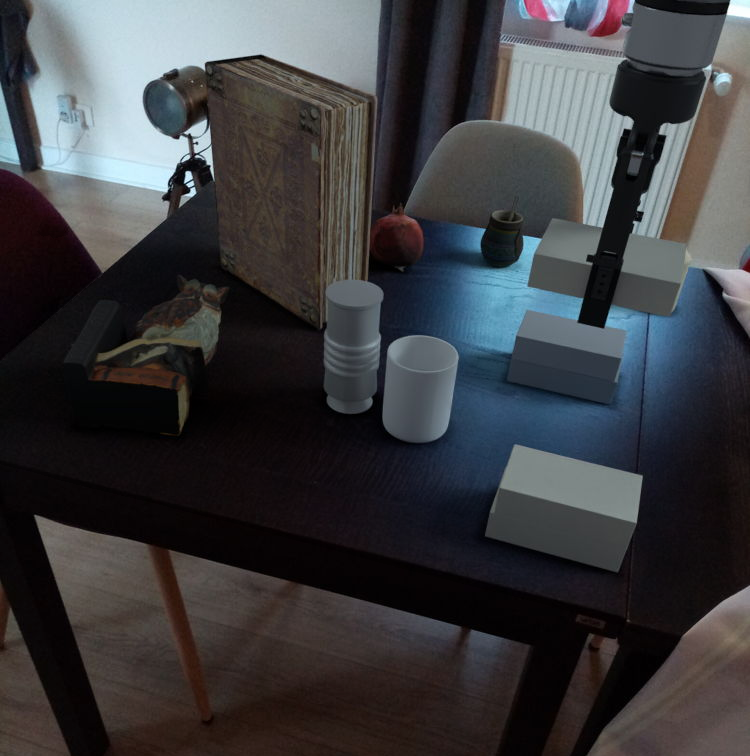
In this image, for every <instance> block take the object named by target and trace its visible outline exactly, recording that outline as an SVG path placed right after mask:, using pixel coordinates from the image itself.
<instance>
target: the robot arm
mask: <svg viewBox="0 0 750 756" xmlns="http://www.w3.org/2000/svg"><path fill="white" fill-rule="evenodd" d="M731 1H732V0H634V1H633V4H632V7H631V8H632V12H625V13H623V15H622V17H621V20H620V23H621V25H622V26H623V27H630V28H629V29H628V30H627V31H626V32H625V36H624V41H623V45H622V49H621V52H622V54H623V56H624V57H625V59H623V60H622V61H621V62H620V63H618V64H617V67H616V72H615V76H614V78H613V79H614V80H613V84H612V87H611V92H610V96H609V107H610V108H611V109H612V111H613V112H614V113H616V114H618V115H620V116H622V117H628V118H630V119H631V120H632V121H633V123H632V127H631V129H630V128H625V127H624V128H623V130H622V133H621V135H620V137H619V141H618V144H617V148H616V154H615V156H616V161H615V166H614V168H613V173H612V176H611V180H610V181H611V182H610V186H611V188H612V193H611V196H610V200H609V204H608V207H607V211H606V214H605V217H604V221H603V226H602V228H603V229H602V233H601V236H600V240H599V244H598V247H597V251H596V254H594V255H589V254H588V255H587V259H586V262H590V263H593V264H592V267H591V271H590V275H589V279H588V283H587V287H586V291H585V294H584V298H582V302H581V305H580V306H581V307H580V309H579V314H578V318H577V320H578V321H577V323H580V324H584V325H589V326H593V327H598V328H602V329H604V328H605V326H606V324H607V320H608V317H609V314H610V310H611V306H612V305H611V304H612V300H613V297H614V293H615V290H616V286H617V283H618V279H619V276H620V272H621V269H622V266H623V262H624V260H623V256H624V253H625V249H626V246H627V242H628V239H629V235H630V233H632V234H633V231H634V228H635V223H634V222H637V223H642V222H643V218H644V214H645V211H642V210H638V209H639V207H640V206H641V203H642V200H641V198H642V195H644V194H646V193H647V192H648V191H649V189H650V186H651V183H652V180H653V175H654V172H655V169H656V166H657V165H658V164H659V163H660V161H661V158H662V155H663V151H664V148H665V144H666V140H667V137H668V135H667V134H661V133H660V131H661V127H662V126H663V125H665V124H670V125H679V124H684V123H687V122H689V121H691V120H692V119H693V118H694V117H695V115H696V114H697V110H698V107H699V103H700V100H701V97H702V94H703V92H704V91H703V90H704V87H705V85H706V81H707V76H706V74H705V73H706V72H705V71H704V70H703V69H707V68H708V67H709V66H710V65H712V64H713V61H714V57H715V54H716V51H717V48H718V45H719V41H720V38H721V35H722V31H723V28H724V25H725V21H726V20H727V19H726V18H727V16H728V11H729V8H730V5H731ZM604 251H606V252H604ZM609 252H611V253H609ZM614 253H615V254H614Z"/></svg>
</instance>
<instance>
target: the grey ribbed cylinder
mask: <svg viewBox="0 0 750 756" xmlns="http://www.w3.org/2000/svg"><path fill="white" fill-rule="evenodd" d="M325 295H326V299H327V322H326V328H325V330H324V334H323V339H324V340H323V341H324V342H323V348H324V349H323V367H324V368H325V370H324V379H323V389H324V391H325V393H326V394H327V397H326V403H327V405H328V406H329V407H330V408H331V409H332V410H334V411H335V412H338V413H342V414H348V415H354V414H361V413H364V412H366V411H368V410H369V409H370V408H371V407H372V405H373V401H374V400H373V398H372V397H373V396H375V394H376V393H377V391H378V389H377V388H378V377H377V376H378V373H377V371H378V369H379V367H380V357H381V356H380V355H381V352H380V351H381V340H382V335H381V333H380V320H381V319H380V318H381V304H382V302H383V301H384V291H383V289H382V288H381V287H380V286H378V285H376V284H375V283H373V282H370V281H368V280H367V281H362V280H342V281H338V282H334V283H332V284H331V285H329V286H328V287H327V288H326V291H325Z"/></svg>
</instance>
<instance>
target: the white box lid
mask: <svg viewBox="0 0 750 756" xmlns="http://www.w3.org/2000/svg"><path fill="white" fill-rule="evenodd" d="M602 229H603V226H602V227H601V226H595V225H591V224H590V225H589V224H586V223H585V224H584V223H581V222H575V221H570V220H566V219H562V218H561V219H560V218H554V217H552V219H551V220H550V222H549V223H548V226H547V228H546V230H545V232H544V234H543V235H542V237H541V239H540V241H539V243H538V246H537V247H536V249H535V251H534V252H533V257H532V261H531V266H530V272H529V276H528V280H527V286H526V287H527V288H533V289H536V290H542V291H546V292H551V293H555V294H560V295H564V296H569V297H573V298H577V299H578V298H579V299H583V298H584V294H585V291H586V287H587V283H588V279H589V275H590V271H591V267H592V264H593V263H590V262H586V259H587V255H588V254H589V255H594V254H596V251H597V247H598V244H599V240H600V236H601V233H602ZM687 246H688V244H687V243H684V242H679V241H674V240H668V239H664V238H663V239H662V238H658V237H653V236H647V235H642V234H637V233H633V232H632V233H630V235H629V239H628V242H627V246H626V249H625V253H624V256H623V260H624V262H623V266H622V269H621V272H620V276H619V279H618V283H617V286H616V290H615V293H614V297H613V300H612V304H611V306H616V307H620V308H625V309H630V310H635V311H638V312H643V313H649V314H653V315H658V316H663V317H667V318H670V317H671V315H672V309H673V306H674V303H675V300H676V297H677V294H678V291H679V289H680V286H681V281H682V274H683V268H684V261H685V255H686V248H687ZM687 249H688V248H687ZM604 252H606V251H604ZM609 253H611V252H609ZM614 254H615V253H614Z"/></svg>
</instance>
